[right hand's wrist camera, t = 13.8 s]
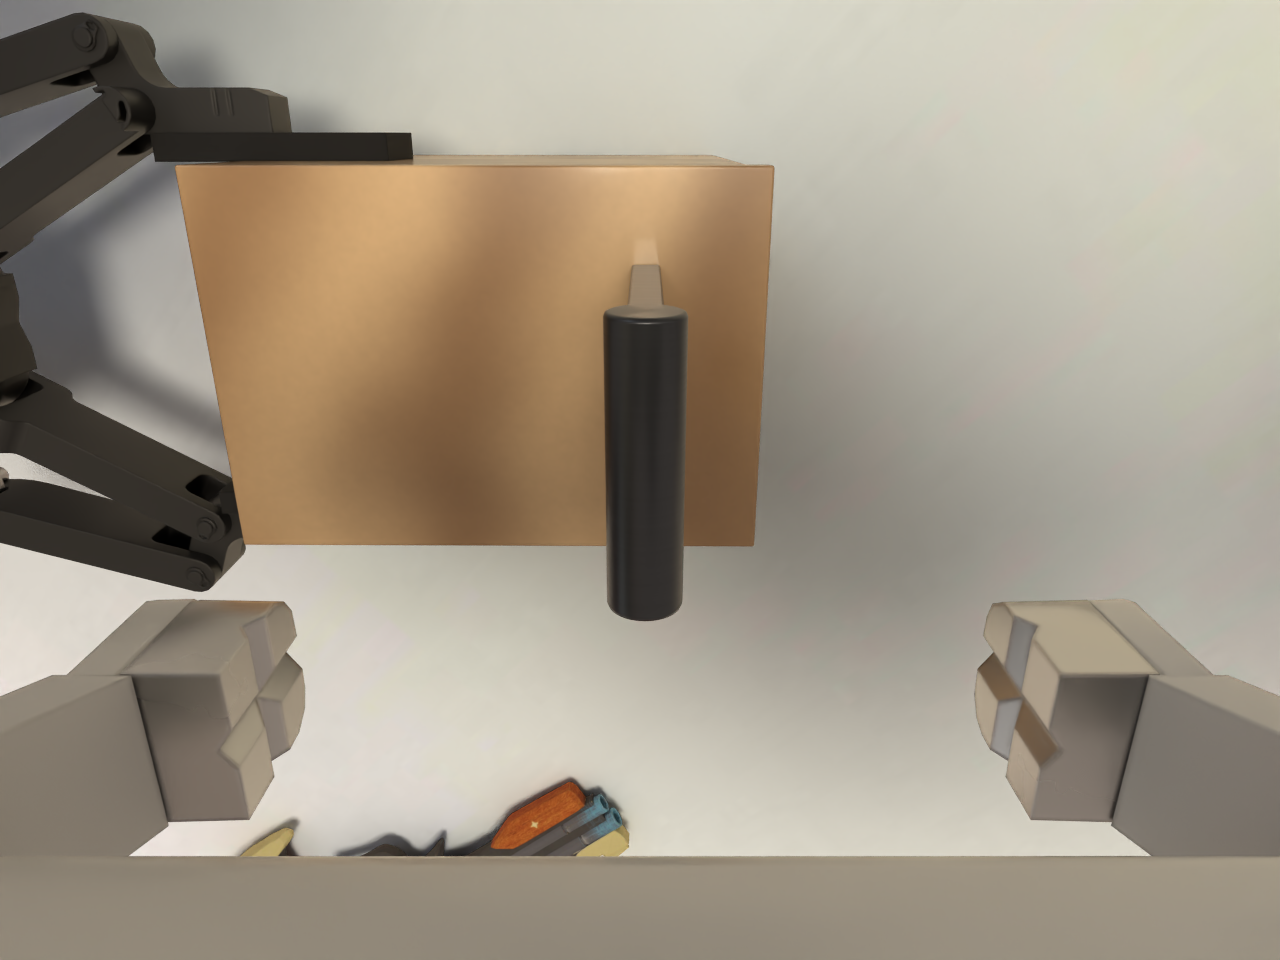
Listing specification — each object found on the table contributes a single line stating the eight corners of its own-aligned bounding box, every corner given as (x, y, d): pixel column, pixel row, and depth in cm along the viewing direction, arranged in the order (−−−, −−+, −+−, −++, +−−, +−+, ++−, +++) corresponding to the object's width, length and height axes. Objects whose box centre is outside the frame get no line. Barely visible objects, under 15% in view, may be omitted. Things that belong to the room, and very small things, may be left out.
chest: (714, 155, 32) (747, 164, 21) (706, 416, 35) (731, 534, 25) (340, 154, 32) (191, 163, 21) (371, 416, 35) (256, 532, 25)
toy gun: (191, 898, 42) (322, 1041, 44) (511, 698, 39) (636, 860, 41) (218, 861, 44) (341, 997, 46) (520, 671, 42) (637, 824, 43)
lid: (770, 164, 21) (842, 180, 13) (751, 534, 25) (798, 718, 17) (190, 163, 21) (-75, 180, 14) (255, 532, 25) (76, 714, 17)
